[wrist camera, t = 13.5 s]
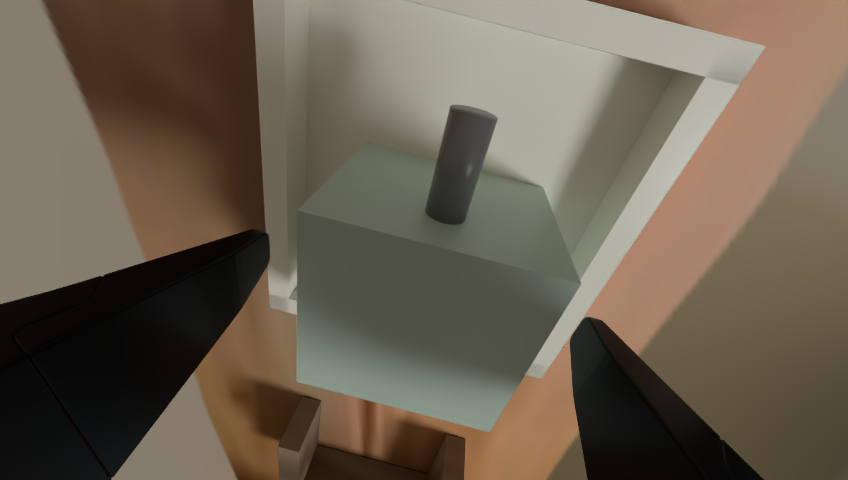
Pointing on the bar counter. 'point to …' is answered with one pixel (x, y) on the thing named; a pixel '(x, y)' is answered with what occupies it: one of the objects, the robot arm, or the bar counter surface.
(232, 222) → the bar counter surface
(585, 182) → the tray
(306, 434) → the dock
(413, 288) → the block with peg handle
